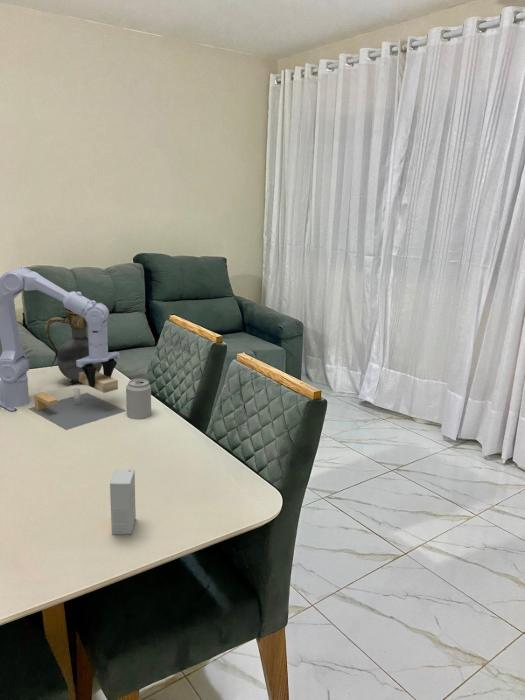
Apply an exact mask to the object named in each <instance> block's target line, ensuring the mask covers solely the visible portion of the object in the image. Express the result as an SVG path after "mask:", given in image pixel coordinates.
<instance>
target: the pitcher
mask: <svg viewBox="0 0 525 700" xmlns="http://www.w3.org/2000/svg"><path fill="white" fill-rule="evenodd" d="M64 311H65V313H66V314H68V316H67V317H65V318H63V317H59V316H55V317H51V318H49V319H48V320H47V321H46V323H45V326H44V332H45V336H46V339H47V340H48V342H49V343H50V346H51V347H52V349H53V350H54V354H55V355H54V359H53V360H52V363H51V365H50V367H52V366H54V364H55V362H56V361H57V367H58V369H59V371H60V373H61V374H62V375H63V376H64V377H65V378H67V379H68V380H70V381H69V383H70V385H71V386H76V385H82V384H83V383H81V382H79V373H80V372H84V371H83V369H82V368H81V367H78V366H76V360H79V359H82V358H85V357H87V356H89V339H88V337H87V336H88V335H87V334H88V330H87V328H88V323H87V321H86V320H85V318H83V317H82V316H80V315H78V314H76V313H74V312H72V311H70V310H69V309H67V308H64ZM57 322H58V323H63V324H69V325H70V327H71V338H69V339H67V340H66V341H64V342H62V344H61V346H60V347H59V349H58V351H57V347H56V346H55V344H54V343H53V341H52V338H51V335H50V331H49V328H50V325H51V324H53V323H57ZM92 365H93V366H94V367H96V371H97V372H99V373H100V372H101V370H102V369H103V366H102V362H99V363H95V364H92ZM83 385H84V384H83Z"/></svg>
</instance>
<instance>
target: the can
mask: <svg viewBox="0 0 525 700" xmlns="http://www.w3.org/2000/svg"><path fill="white" fill-rule="evenodd" d="M125 396H126V398H125V399H126V400H125V402H126V404H125V405H126V416H127V418H129V419H131V420H145V419H148V418H150V417H151V416H152V386H151V384H150V381H149V380H148V379H144V378H134V379H130V380H129V381H128V382H127V385H126V386H125Z"/></svg>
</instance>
